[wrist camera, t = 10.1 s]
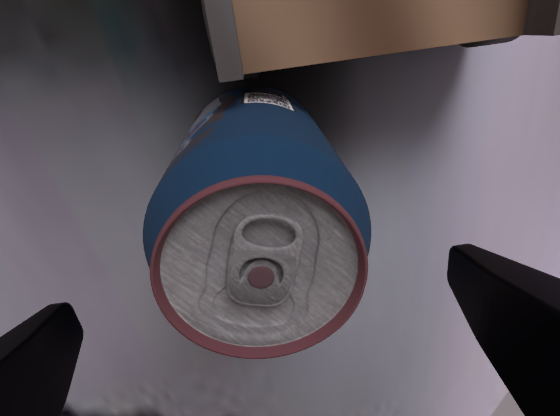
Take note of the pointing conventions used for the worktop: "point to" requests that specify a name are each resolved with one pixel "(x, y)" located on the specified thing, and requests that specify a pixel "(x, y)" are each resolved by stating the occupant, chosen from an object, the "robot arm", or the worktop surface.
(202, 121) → the soda can
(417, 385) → the worktop surface
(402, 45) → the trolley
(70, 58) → the worktop surface
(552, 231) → the worktop surface
